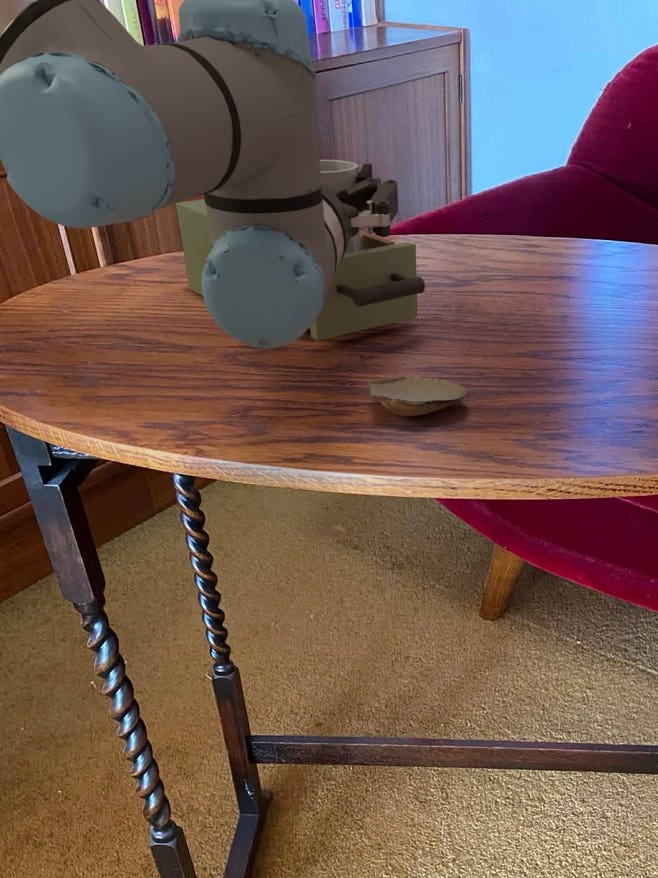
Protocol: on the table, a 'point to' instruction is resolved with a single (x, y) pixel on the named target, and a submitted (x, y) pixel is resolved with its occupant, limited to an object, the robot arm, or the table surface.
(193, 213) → the cabinet
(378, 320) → the drawer
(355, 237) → the canister
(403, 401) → the seashell
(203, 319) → the table surface
